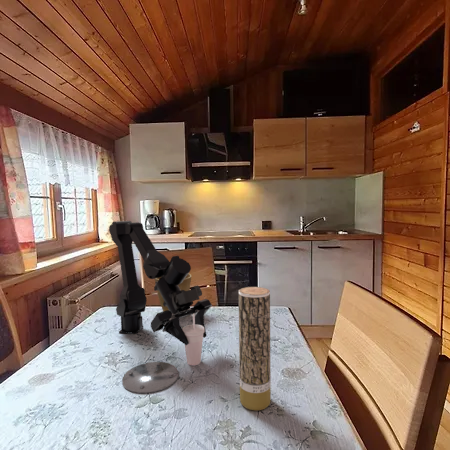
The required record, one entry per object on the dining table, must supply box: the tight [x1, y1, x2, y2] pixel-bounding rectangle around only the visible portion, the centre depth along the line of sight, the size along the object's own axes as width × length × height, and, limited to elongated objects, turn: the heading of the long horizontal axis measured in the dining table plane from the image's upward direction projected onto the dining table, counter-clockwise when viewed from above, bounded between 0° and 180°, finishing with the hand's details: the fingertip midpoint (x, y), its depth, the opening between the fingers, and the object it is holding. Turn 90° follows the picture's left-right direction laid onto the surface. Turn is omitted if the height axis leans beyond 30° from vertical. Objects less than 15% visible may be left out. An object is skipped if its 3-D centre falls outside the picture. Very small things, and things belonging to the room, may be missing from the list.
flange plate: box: [121, 361, 180, 394], centre depth 79 cm, size 14×14×1 cm
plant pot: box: [154, 273, 192, 312], centre depth 127 cm, size 15×15×16 cm
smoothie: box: [181, 313, 206, 366], centre depth 87 cm, size 6×6×14 cm
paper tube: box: [238, 286, 272, 411], centre depth 68 cm, size 7×7×25 cm
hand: (196, 340), depth 86 cm, fingers open, 6 cm apart
